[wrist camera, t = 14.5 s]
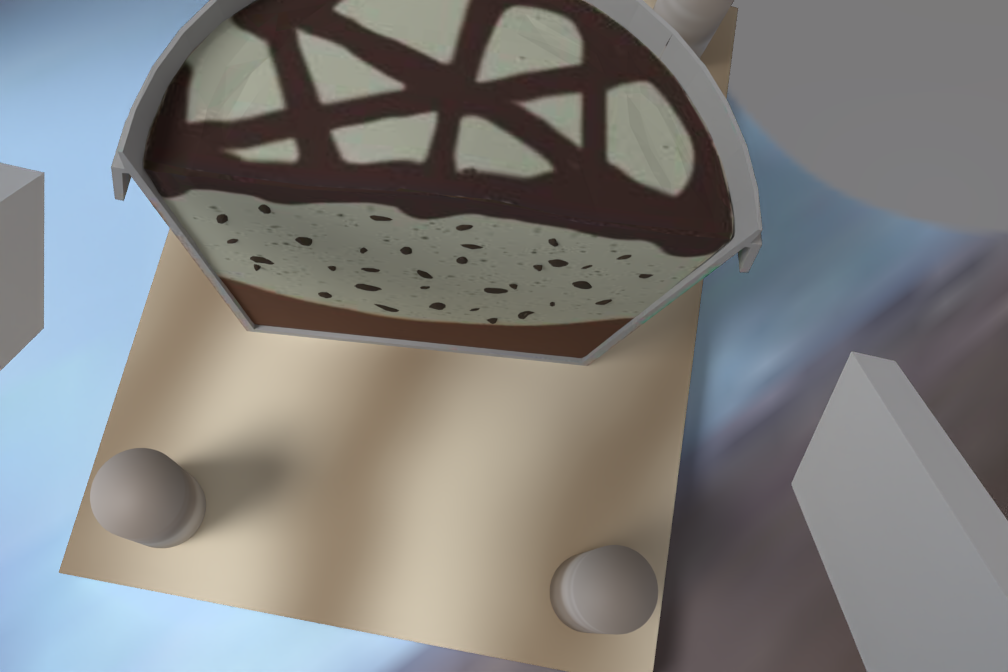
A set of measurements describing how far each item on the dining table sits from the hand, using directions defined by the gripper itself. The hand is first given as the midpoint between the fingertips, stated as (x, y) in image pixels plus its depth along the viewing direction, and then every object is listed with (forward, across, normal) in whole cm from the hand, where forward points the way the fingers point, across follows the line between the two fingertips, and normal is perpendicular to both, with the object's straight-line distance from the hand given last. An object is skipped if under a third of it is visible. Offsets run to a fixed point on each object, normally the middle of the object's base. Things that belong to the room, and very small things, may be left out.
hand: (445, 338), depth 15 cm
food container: (+11, -1, -3) cm, 12 cm away
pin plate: (+12, 0, -4) cm, 13 cm away
